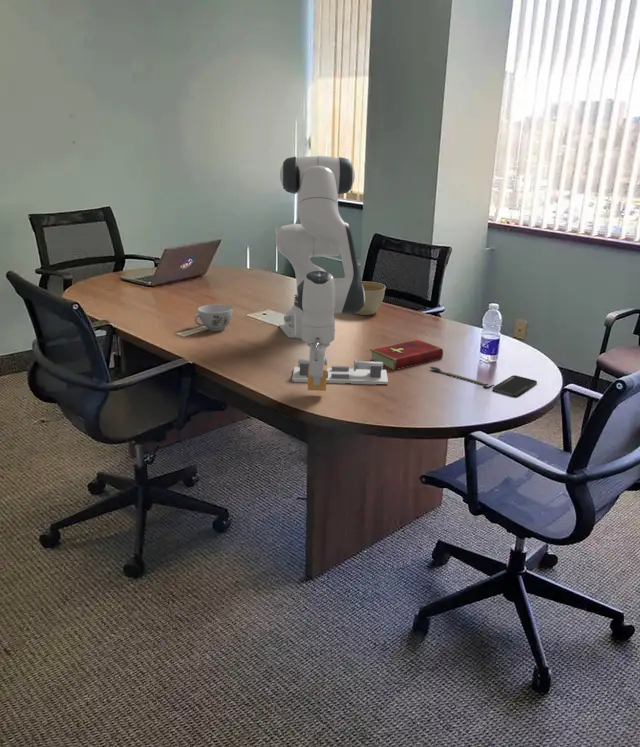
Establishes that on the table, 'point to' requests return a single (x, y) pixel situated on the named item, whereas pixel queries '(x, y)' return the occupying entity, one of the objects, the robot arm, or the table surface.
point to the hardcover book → (406, 353)
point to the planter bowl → (372, 297)
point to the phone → (514, 386)
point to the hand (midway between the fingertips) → (317, 380)
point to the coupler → (322, 381)
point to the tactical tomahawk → (462, 377)
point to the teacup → (214, 316)
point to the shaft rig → (346, 373)
